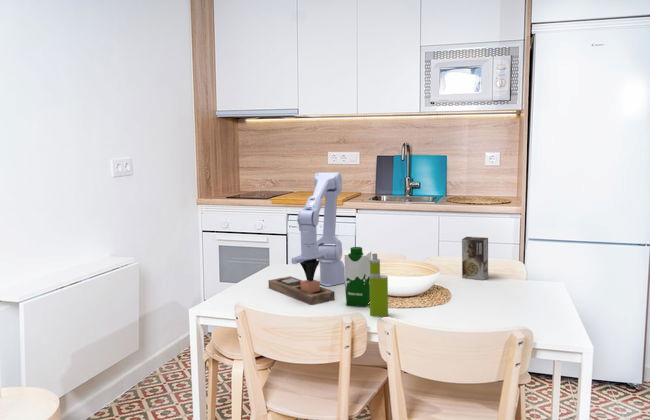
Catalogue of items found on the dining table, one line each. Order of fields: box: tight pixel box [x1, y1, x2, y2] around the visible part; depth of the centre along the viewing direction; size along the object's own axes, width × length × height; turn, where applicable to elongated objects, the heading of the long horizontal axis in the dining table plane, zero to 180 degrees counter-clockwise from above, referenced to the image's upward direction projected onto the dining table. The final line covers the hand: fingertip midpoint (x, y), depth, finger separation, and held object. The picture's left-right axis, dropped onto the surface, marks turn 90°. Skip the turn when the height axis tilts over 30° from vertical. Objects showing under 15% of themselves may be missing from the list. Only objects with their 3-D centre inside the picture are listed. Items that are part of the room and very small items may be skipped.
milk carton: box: [344, 246, 372, 308], centre depth 195 cm, size 9×9×20 cm
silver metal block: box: [281, 279, 299, 286], centre depth 216 cm, size 5×5×3 cm
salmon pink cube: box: [301, 279, 321, 294], centre depth 204 cm, size 5×5×3 cm
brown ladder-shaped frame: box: [268, 276, 336, 306], centre depth 210 cm, size 10×30×3 cm, turn 35°
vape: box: [369, 253, 389, 317], centre depth 182 cm, size 4×6×20 cm, turn 81°
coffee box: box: [461, 236, 489, 281], centre depth 226 cm, size 9×6×16 cm
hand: (310, 280), depth 204 cm, fingers closed
